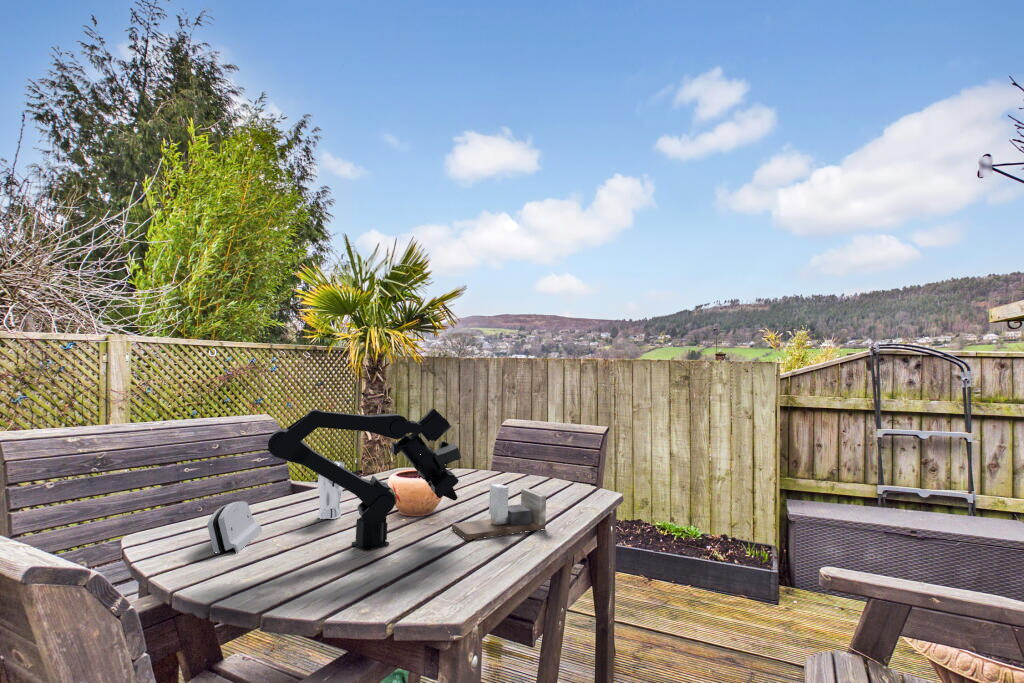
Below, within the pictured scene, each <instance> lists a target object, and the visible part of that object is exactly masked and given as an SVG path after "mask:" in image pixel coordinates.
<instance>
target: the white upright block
mask: <svg viewBox="0 0 1024 683" xmlns="http://www.w3.org/2000/svg"><path fill="white" fill-rule="evenodd" d="M332 461H333V462H335V463H336V464H338V465H340V466H342V467H343V468H345V462H344V461H340V460H339V461H338V460H332ZM317 475H318V476H317V487H318V495H319V509H318V513H317V519H318V518H320V519H319V520H321V519H334V520H337V519H336V518H338V519H339V517H340V516H341V499H342V494H343V490H344V488H342V487H341V486H339V485H337V484H335V483H334V482H332V481H330V480H328V479H327V478H325V477H323V476H321V475H319V474H317ZM341 517H342V516H341ZM341 517H340V518H341Z"/></svg>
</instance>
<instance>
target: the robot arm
mask: <svg viewBox="0 0 1024 683" xmlns="http://www.w3.org/2000/svg"><path fill="white" fill-rule="evenodd" d="M318 428H322V429H323V428H324V429H334V430H345V431H346V430H347V431H355V432H357V431H358V432H368V433H371V434H376V435H378V436H381V437H385V438H390V439H393V440H397V441H396V442H391V449H390V453H391V454H392V455H393V456H396V455H398V454H399V453H402V455H403V456H404V457H405V459H407V461H408V462H409V463H410V465H412V466H413V468H414V469H415V470H416V472H417V473H418V475H419V476H420V477H421V479H422V480H424V481H425V483H426V484H427V485H428V487H429V488H430V490H431V492H433V494H434V495H435V496H436V497H437V498H438V499H442V498H443V497H445V498H448V499H449V500H452V501H457V500H458V498H459V497H458V495H457V493H456V491H455V489H454V487H455V486H456V485H457V484H458V483H459V482H460V479H458V478H457V476H456V475H455V474H454V473H453V472H452V471H451V470H448V467H447V466H446V465H448V464H450V463H453V462H456V461H459V460H461V459H462V455H461V453H460V449H459V446H458V445H457V444H456V443H452V442H449V443H448V442H447V441H446V440H443V441H440V442H439V444H438V448H437V449H436V450H435V451H434V450H433V449H432V448H431V447H429V446H428V445H427V444H426V442H427V443H430V442H432V443H436V442H437V440H439V439H440V438H442V436H443V435H444V434H446V433H447V432H448V431H449V430H450V429H451V428H452V425H451V424H450V422H449V421H448V419H446V418H445V417H443V416H442V415H441V413H440V412H438V411H437V409H436V408H432V407H431V409H429V411H428V412H427V413H426V414H425V415H424V416H423V417H422V418H420V419H419V420H418V421H415V420H413V419H412V420H408V419H407V418H406V417H405V416H403V415H401V414H398V413H381V414H373V415H371V414H370V415H366V414H355V413H348V412H347V413H346V412H344V413H343V412H335V411H323V410H320V409H317V408H316V409H310V410H309V411H308V412H307V414H305V415H304V416H302V417H301V418H299V419H298V420H296V421H295V422H294V423H292V424H290V425H289V426H288V427H286V428H279V429H276V430H275V431H273V432H272V433H271V434H270V436H269V439H268V442H267V447H268V452H269V454H270V455H272V456H273V457H275V458H278V459H281V460H284V461H287V462H290V463H295V464H298V465H300V466H301V465H302V466H304V467H306V468H307V469H309V470H311V471H313V472H314V473H316V474H317V475H321V476H323V477H325V478H327V479H328V480H330V481H332V482H334V483H335V484H337V485H339V486H341V487H342V488H343V490H344V489H345V490H346V491H347V492H350V493H351V494H353V495H355V496H356V497H357V498H358V499H359V500H360V501H361V502H360V503H359V504H358V506H357V511H358V514H359V515H360V517H359V518H357V519H356V522H355V523H356V525H355V541H352V542H351V545H352V546H355V547H356V548H358V549H361V550H363V551H366V552H367V551H368V552H369V551H371V550H375V549H378V548H382V547H386V546H389V545H390V541H387V540H388V522H387V516H388V515H389V513H390V512H391V511H392V510H393V508H394V507H395V505H396V498H395V497H396V496H395V495H394V493H393V492H392V491H391V487H390V486H389V484H388V482H383V481H380V480H379V479H378V478H377V477H375V476H374V475H372V476H371V478H370V480H369V479H367V478H362V477H360V476H359V475H357V474H355V473H354V472H351V471H350V470H348V468H345V467H344V468H343V467H342V466H340V465H338V464H336V463H335V462H333V461H334V460H331V459H330V458H328V457H326V456H324V455H323V454H320V453H319V452H318V451H315V450H314V449H313V448H312V447H310V446H309V445H308V444H307V443H306V442H305V441H304V440H305V438H307V437H308V436H309V435H310V434H312V433H313V432H314V431H315V430H316V429H318ZM408 434H409V435H408ZM421 436H422V438H421ZM423 439H424V440H423ZM425 441H426V442H425ZM420 454H421V455H420Z"/></svg>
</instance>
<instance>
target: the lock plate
mask: <svg viewBox="0 0 1024 683" xmlns="http://www.w3.org/2000/svg"><path fill="white" fill-rule="evenodd" d="M520 492H521V495H520V496H521V497H520V498H521V499H520V504H513V505H508V514H509V523H507V524H499V525H495V524H493V523H491V518H488V519H480V520H471V521H464V522H456V523H451V530H452V529H453V530H454V531H453V530H452V531H453V532H455V531H456V532H457V533H458V534H457V533H456V532H455V533H456V534H457V535H459V536H460V535H461V536H462V538H463V537H464V538H465V539H466V540H465V539H464V538H463V539H464V540H465V541H467V540H468V541H473V540H472V539H475V540H479V539H478V538H482V539H485V538H484V537H490V538H492V537H491V536H497V537H500V536H499V535H504V536H507V535H506V534H511V535H513V534H512V533H518V534H521V533H520V532H525V531H533V530H540V531H542V530H541V529H545V530H546V524H547V522H546V517H547V516H546V515H547V514H546V513H547V495H545V494H543V493H540V492H538V491H536V490H533V489H531V488H528V487H524V488H523V487H522V488H521V491H520ZM533 532H534V531H533ZM525 533H526V532H525ZM461 536H460V537H461Z"/></svg>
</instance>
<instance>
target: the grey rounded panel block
mask: <svg viewBox="0 0 1024 683" xmlns="http://www.w3.org/2000/svg"><path fill="white" fill-rule="evenodd" d="M207 531H208V534H209V538H210V543H211V546H212V551H213V553H214V552H217V554H220V553H221V552H222V551H224V550H225V551H229V550H231V549H234V551H235V553H236V552H239V551H240V550H241V549H242V550H243V549H244V548H246V547H247V546H248V545H249V544H250V543H251V542H252V541H253V540H255V538H257V536H258V534H259V533H260V534H261V533H262V532H263V530H262V526H261V524H260V523H257V522H255V520H254V517H253V514H252V511H251V509H250V506H249V503H248V502H247V501H242V500H241V501H233V502H231V503H228V504H225V505H223V506H221V507H220V508H218V509H217V510H215V511H214V512H213V514H212V515H210V517H209V519H208V521H207ZM260 534H259V535H260ZM252 539H253V540H252ZM251 540H252V541H251ZM250 541H251V542H250ZM249 542H250V543H249ZM248 543H249V544H248ZM247 544H248V545H247ZM246 545H247V546H246ZM245 546H246V547H245ZM243 547H244V548H243ZM242 550H241V551H242ZM241 551H240V552H241ZM240 552H239V553H240Z"/></svg>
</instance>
